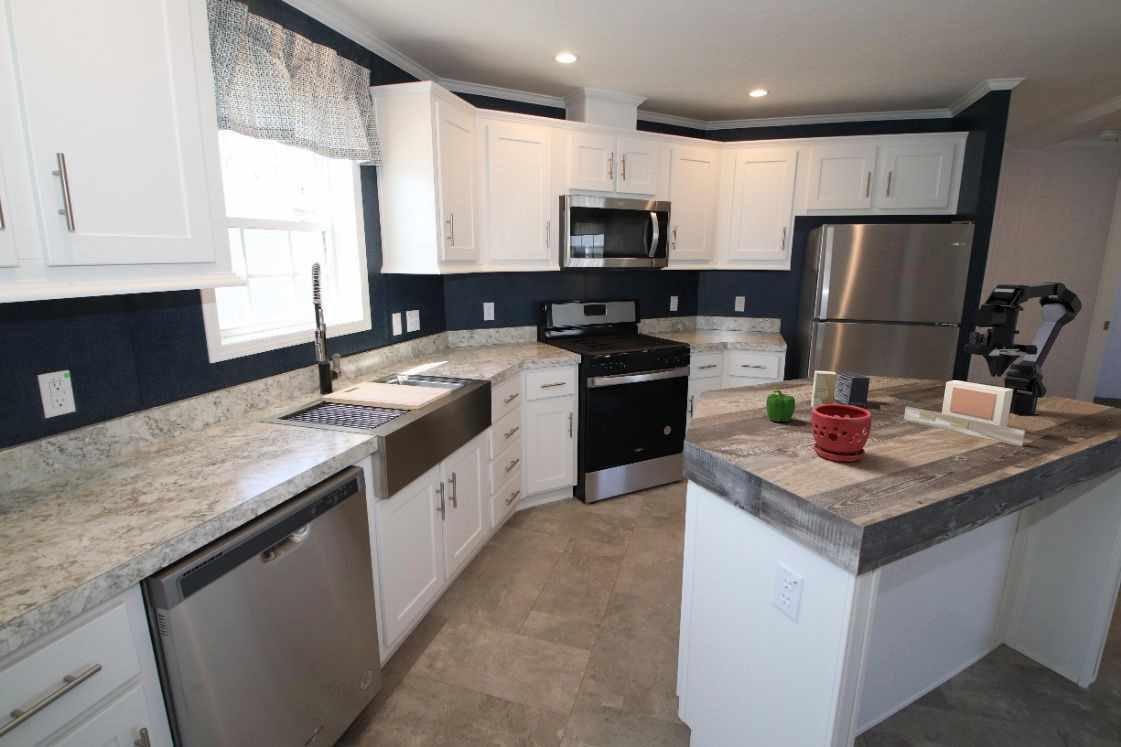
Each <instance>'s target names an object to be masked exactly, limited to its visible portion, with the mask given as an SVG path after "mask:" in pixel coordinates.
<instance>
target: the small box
mask: <svg viewBox="0 0 1121 747" xmlns="http://www.w3.org/2000/svg"><path fill="white" fill-rule="evenodd" d="M836 374H837V376H836V384H835V392H834V400H835V401H834V400H833V401H834V402H836V401H837V402H836V403H838V402H839V403H838V404H840V403H841V404H840V405H842V404H843V405H849V406H855V407H859V408H863V409H865V408H867V405H868V404H867V402H868V396H869V395H868V394H869V388H870V382H871V381H870V379H871V378H870V377H868V376H865V375H862V374H861V373H858V372H854V371H836Z"/></svg>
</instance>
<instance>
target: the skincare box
mask: <svg viewBox="0 0 1121 747" xmlns="http://www.w3.org/2000/svg"><path fill="white" fill-rule="evenodd" d="M836 379H837V372H836V371H829V370H814V374H813V386H812V391H811V400H810V406H811V408H812V409H813V408H814V407H816V406H819V405H826V404H834V395H835V387H836Z"/></svg>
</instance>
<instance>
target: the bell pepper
mask: <svg viewBox="0 0 1121 747" xmlns="http://www.w3.org/2000/svg"><path fill="white" fill-rule="evenodd" d="M772 392H773V393H771V394H769V395H768V396H767V398H766V403H765V404H766V405H765V406H766V412H767V417H768V420H770V421H771V420H772V422H774V421H776V422H775V423H778V422H779V423H780V422H781V421H783V422H782V423H788V422H790V421H791V420H792V417H793V415H794V412H795V411H796V408H795V407H796V399H795V396H793V395H786V394H784V393H783V392H782V390H780V389H777V388H775V389H773V390H772ZM776 393H778V394H776Z"/></svg>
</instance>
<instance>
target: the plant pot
mask: <svg viewBox="0 0 1121 747" xmlns="http://www.w3.org/2000/svg"><path fill="white" fill-rule="evenodd" d="M846 416H849V417H846ZM871 427H872V413H871V411H869V410H868V409H865V408H859V407H855V406H849V405H842V404H840V403H837V404H836V403H833V404H826V405H819V406H816V407H814V408H812V410H811V431H812V432H811V433H812V437H813V439H814V442H815V443H814V444H813V446H812V447H813V448H812V449H813V451H814V452H815V453H816V454H817V455H819V456H821V457H822V458H825V459H828V460H830V461H831V460H832V461H836V462H847V463H851V462H855V461H858V460H861V459H862V458H863V457H865V454H866V451H865V449H864V447H865V445H866V444H867V441H868V439H869V437H870V433H871V430H872V429H871Z"/></svg>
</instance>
